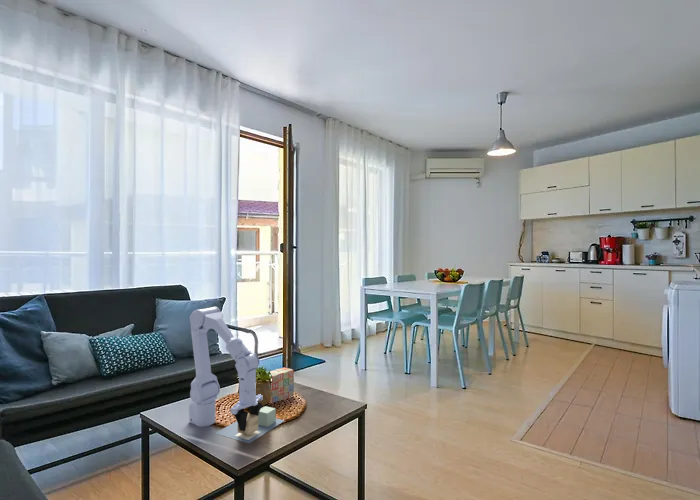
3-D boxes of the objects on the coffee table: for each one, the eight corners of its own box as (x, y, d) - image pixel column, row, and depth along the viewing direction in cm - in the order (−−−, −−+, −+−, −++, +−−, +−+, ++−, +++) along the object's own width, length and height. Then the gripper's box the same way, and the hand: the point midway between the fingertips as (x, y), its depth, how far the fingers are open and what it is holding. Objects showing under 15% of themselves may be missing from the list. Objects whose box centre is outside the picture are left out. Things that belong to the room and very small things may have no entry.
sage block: (256, 424, 149) (256, 410, 149) (265, 419, 154) (265, 406, 153) (267, 426, 147) (267, 413, 147) (275, 421, 151) (275, 408, 151)
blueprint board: (214, 435, 142) (214, 432, 142) (252, 414, 160) (252, 412, 160) (249, 445, 135) (249, 443, 135) (285, 422, 152) (285, 420, 152)
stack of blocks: (255, 412, 162) (255, 381, 162) (246, 408, 166) (245, 378, 166) (294, 396, 179) (293, 369, 179) (284, 393, 183) (284, 366, 183)
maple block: (237, 432, 140) (237, 418, 140) (247, 426, 145) (247, 413, 145) (248, 435, 138) (248, 421, 138) (258, 429, 142) (258, 415, 142)
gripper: (241, 397, 133) (242, 438, 133) (269, 384, 146) (269, 421, 146) (226, 394, 136) (226, 433, 136) (254, 381, 149) (255, 417, 149)
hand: (247, 426), depth 141 cm, fingers closed on maple block, 5 cm apart
